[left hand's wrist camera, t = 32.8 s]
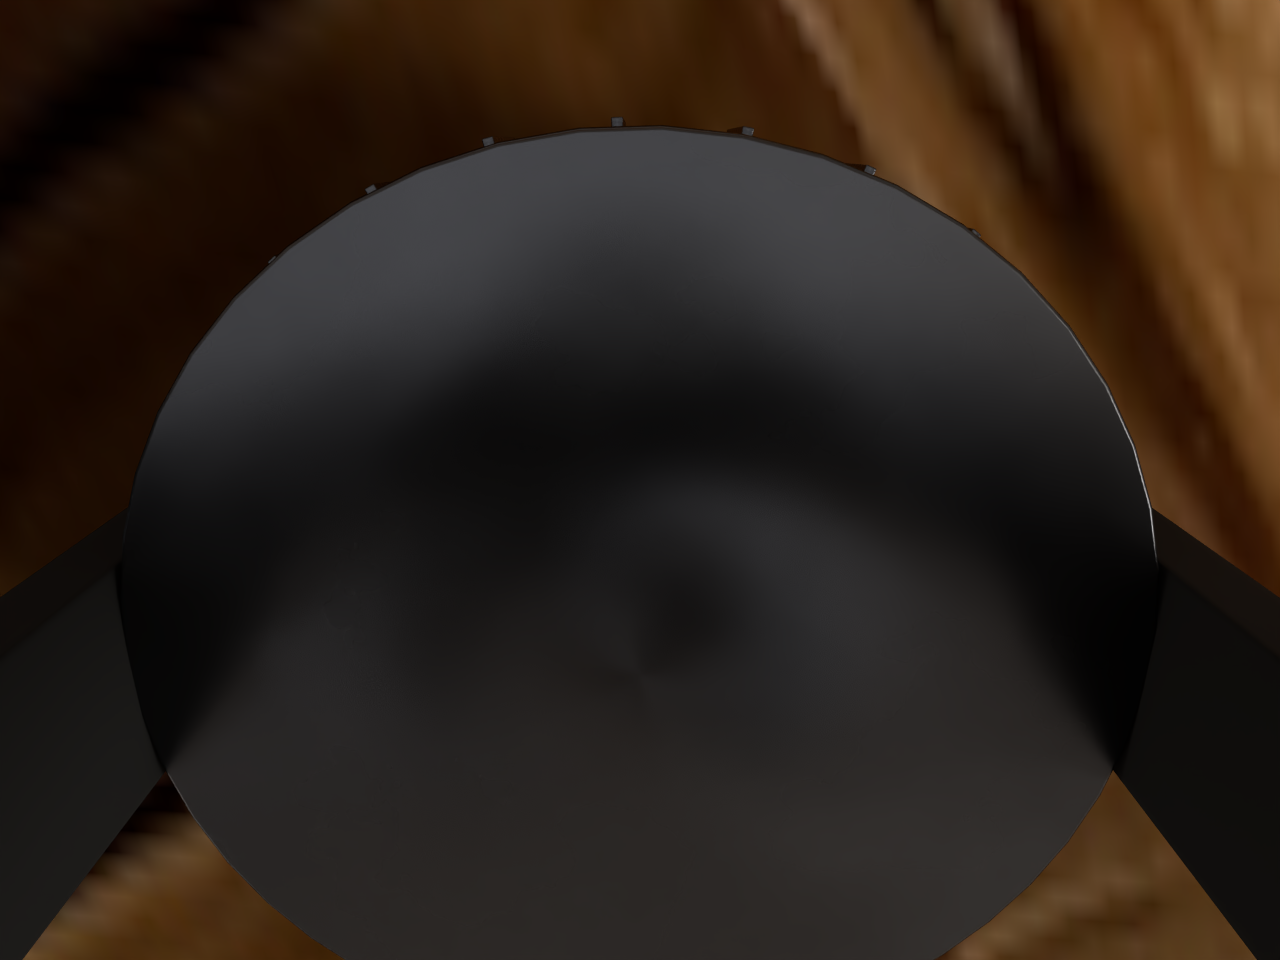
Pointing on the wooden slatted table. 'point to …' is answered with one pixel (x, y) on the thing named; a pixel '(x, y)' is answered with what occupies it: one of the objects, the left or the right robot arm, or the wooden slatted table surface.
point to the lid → (639, 564)
